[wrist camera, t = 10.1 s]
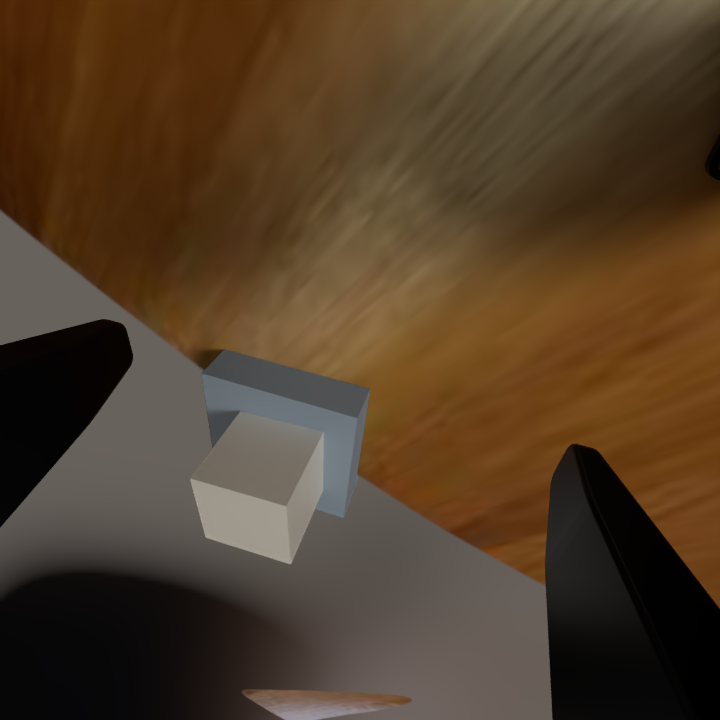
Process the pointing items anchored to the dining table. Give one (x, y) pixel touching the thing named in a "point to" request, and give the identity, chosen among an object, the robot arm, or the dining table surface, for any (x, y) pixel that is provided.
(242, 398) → the slate block
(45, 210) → the dining table surface
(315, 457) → the cream cube
